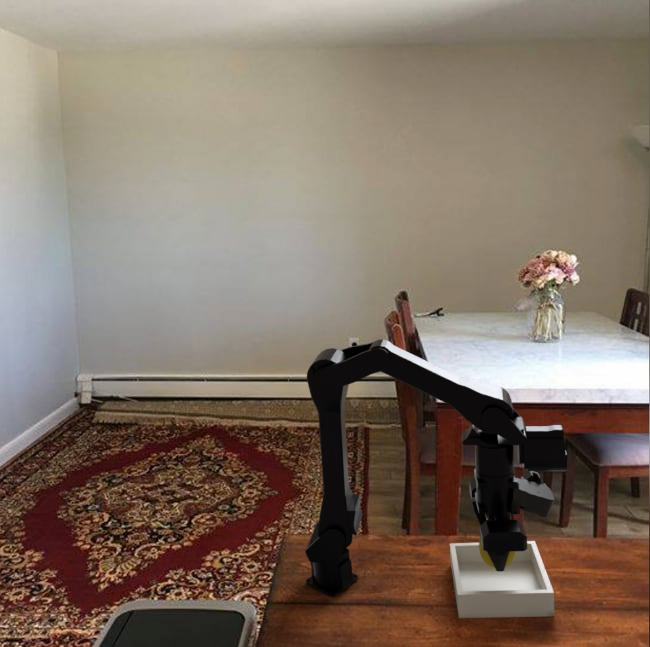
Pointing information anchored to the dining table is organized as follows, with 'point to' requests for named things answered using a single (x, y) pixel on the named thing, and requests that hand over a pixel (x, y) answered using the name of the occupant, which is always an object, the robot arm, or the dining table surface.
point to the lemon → (487, 558)
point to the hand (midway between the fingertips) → (497, 560)
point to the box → (500, 584)
